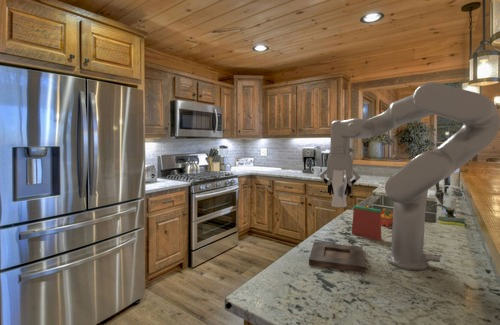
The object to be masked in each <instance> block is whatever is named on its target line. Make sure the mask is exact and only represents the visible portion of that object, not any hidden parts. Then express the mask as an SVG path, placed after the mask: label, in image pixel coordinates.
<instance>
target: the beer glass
mask: <svg viewBox="0 0 500 325" xmlns="http://www.w3.org/2000/svg"><path fill="white" fill-rule="evenodd" d="M347 188H348V179H347V176H346V170H334V172H333V176H332V179H331V196H332V198H331V206H332V207H335V208H346V207H348V204H347Z"/></svg>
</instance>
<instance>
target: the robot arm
mask: <svg viewBox="0 0 500 325" xmlns="http://www.w3.org/2000/svg"><path fill="white" fill-rule="evenodd" d="M432 115H435V116H439V117H442V118H445V119H448V120H451V121H453V122H454V121H455V122H457V123H460V124H462V126H461V128H460V129H458V130H457V131H456V132H454V133H453V134H452V135H451V136H450V137H448V138H447V139H446V140H445V141H444V142H442V143H441V144H440V145H438V146H437V147H435V148H434V149H432V150H426V151H423V152H420V153H419V154H418V155H416V156H415V157H413V158H412V159H411V160H410V161H408V162H407V163H406V164H404V165H403V166H402V167H401V168H399V170H397V171H396V172H395V173H393V174H392V175H391V176H390V177H389V178H388V179H387V181H386V183H385V186H384V190H385V194H386V197H387V198H389V200H391V201H393V209H392V210H393V211H392V214H393V224H392V229H391V230H392V231H391V234H392V235H391V251H390V252H389V253H387V254H386V256H385V257H386V258H385V259H386V261H387V262H388V263H390V264H391V265H393V266H395V267H399V268H400V269H401V268H402V269H406V270H409V271H410V270H412V271H423V270H427V269H428V267H429V262H435V263H441V258H440V256H439V255H434V254H433V253H426V252H425V250H424V241H425V223H426V222H425V220H426V207H427V199H428V195H429V194H428V193H429V192H428V190H430V189H431V188H433V187H434V186H435V185H437V184H438V183H440V182H441V181H443V180H446V179H447V178H449V177H450V176H451V175H452V174H453V173H454V172H456V171H457V170H458V169H459V168H461V167H462V166H464V165H465V164H466V163H468V162H469V161H471V160H472V159H473V158H474V157H476V156H477V155H478V154H480V153H481V152H483V151H484V150H485V149H486V148H487V147H488V146H490V145H491V144H492V143H493V141H494V140H495V138H496V137H497V135H498V133H499V131H500V112H499V110H498V108H497V105H496V103H494V102H493V100H491V99H490V98H489V97H488V96H487V95H484V94H482V93H479V92H475V91H471V90H466V89H463V88H458V87H454V86H450V85H448V84H447V85H446V84H443V83H439V82H435V81H430V82H426V83H423V84H421V85H420V86H418V87H417V88H416V89H415V91H414V92H413V94H410V95H407V96H406V97H402V98H401V99H398V100H396V101H393V102H392V103H391V104H390V105H389V106H388V108H387V109H386V110H385V111H383V112H382V113H380V114H377V115H375V116H373V117H370V118H367V119H365V118H356V117H355V118H349V119H346V120H343V119H342V120H341V119H339V120H333V121H332V122H331V123H330V148H329V149H330V150H329V151H330V152H329V153H330V154H328V156H327V162H326V170H324V171H323V172H322V173H321V174H319V178H321V180H322V181H323V182H324V183H325V184H326V185H327V194H328V195H329V196H332V189H331V179H332V176H333V172H334V170H346V176H347V179H348V188H347V193H346V197H350V195H351V194H352V186H353V185H354V184H356V183H357V181H359V180H360V179H361V175H360V174H358V173H357V172H356V171H355V170H354V162H353V154H350V153H352V152H353V153H354V151H355V150H354V149H355V148H352V147H351V139H363V140H364V139H365V140H366V139H370V138H374V137H377V136H379V135H382V134H385V133H388V132H390V131H392V130H395V129H397V128H399V127H401V126H403V125H406V124H410V123H412V122H414V121H418V120H421V119H423V118H426V117H429V116H432ZM325 176H326V177H325ZM353 176H354V177H353Z"/></svg>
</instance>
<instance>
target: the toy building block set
mask: <svg viewBox="0 0 500 325" xmlns="http://www.w3.org/2000/svg"><path fill="white" fill-rule="evenodd" d="M392 223H393V209H389V208H383V209H382V210H381V209H377V208H371V207H369V205H365V206H360V205H353V212H352V224H351V235H357V236H361V237H365V238H369V239H373V240H377V241H381V240H382V227H383V226H384V227H385V226H386V228H388V227H390V226H391V225H393V224H392ZM381 225H382V226H381Z"/></svg>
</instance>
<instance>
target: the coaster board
mask: <svg viewBox="0 0 500 325" xmlns="http://www.w3.org/2000/svg"><path fill="white" fill-rule="evenodd" d="M312 243H313V244H312V246H311V247H312V248H311V250H310V254H309V258H308V266H312V267H313V266H314V267H319V268H321V267H322V268H328V269H335V270H342V271H349V272H357V273H362V274H363V273H364V274H367V264H366V260H365V255H364V248H363V246H358V245H357V246H356V245H349V244H341V243H340V244H338V243H329V242H321V241H313V242H312Z"/></svg>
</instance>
